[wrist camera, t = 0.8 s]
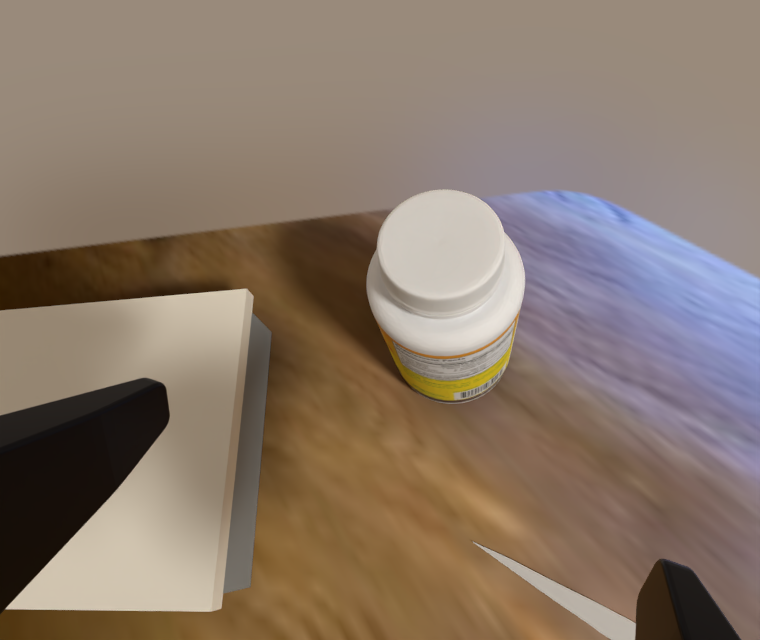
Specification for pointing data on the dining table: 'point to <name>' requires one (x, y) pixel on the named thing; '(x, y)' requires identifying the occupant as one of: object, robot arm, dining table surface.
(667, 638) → the robot arm
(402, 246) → the supplement bottle
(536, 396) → the dining table surface
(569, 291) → the dining table surface
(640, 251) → the dining table surface
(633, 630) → the scissors
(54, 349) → the box
